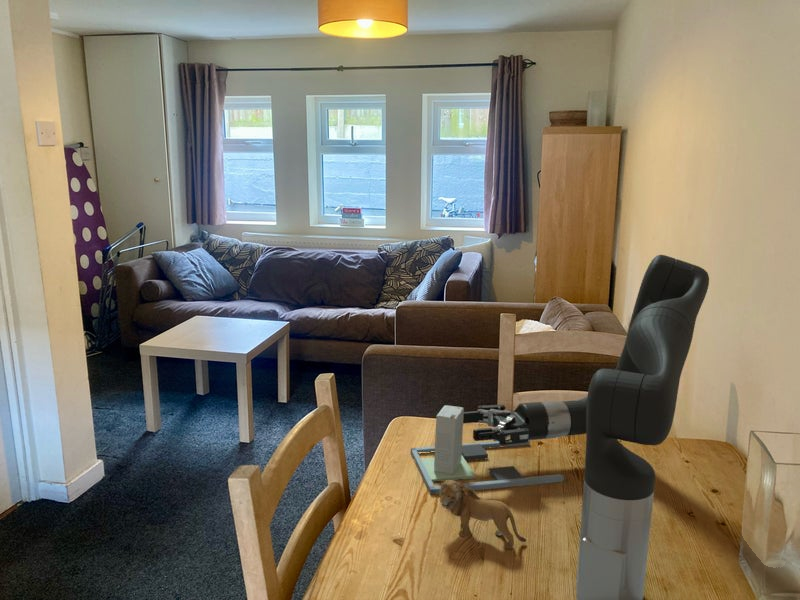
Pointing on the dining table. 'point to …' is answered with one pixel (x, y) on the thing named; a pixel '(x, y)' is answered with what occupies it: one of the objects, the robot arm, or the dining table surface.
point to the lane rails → (484, 484)
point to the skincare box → (448, 439)
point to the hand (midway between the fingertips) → (467, 426)
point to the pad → (460, 473)
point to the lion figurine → (477, 509)
